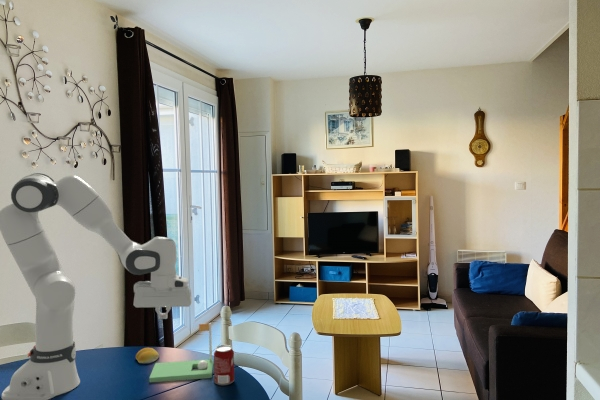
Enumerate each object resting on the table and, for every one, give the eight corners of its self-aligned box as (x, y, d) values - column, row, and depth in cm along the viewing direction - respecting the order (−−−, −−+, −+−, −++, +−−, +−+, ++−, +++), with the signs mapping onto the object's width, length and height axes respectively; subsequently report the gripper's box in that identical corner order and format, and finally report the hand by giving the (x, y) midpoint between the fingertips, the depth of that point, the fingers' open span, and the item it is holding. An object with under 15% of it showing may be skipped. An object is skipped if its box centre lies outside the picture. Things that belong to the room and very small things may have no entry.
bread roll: (140, 366, 162) (140, 355, 162) (133, 358, 169) (133, 348, 169) (162, 360, 167) (162, 350, 166) (154, 353, 174) (154, 343, 174)
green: (149, 382, 148) (148, 337, 148) (155, 367, 160) (154, 326, 159) (211, 377, 152) (210, 334, 151) (213, 363, 163) (212, 322, 163)
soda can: (230, 387, 144) (229, 352, 144) (211, 385, 146) (210, 351, 145) (237, 378, 151) (236, 344, 150) (218, 376, 152) (218, 343, 152)
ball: (195, 369, 155) (201, 360, 155) (196, 364, 158) (201, 356, 158) (203, 374, 155) (209, 366, 155) (204, 370, 159) (210, 362, 159)
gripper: (131, 283, 153) (131, 321, 153) (190, 282, 156) (190, 320, 156) (135, 279, 159) (135, 316, 160) (192, 279, 162) (191, 315, 163)
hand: (162, 318), depth 158 cm, fingers closed
